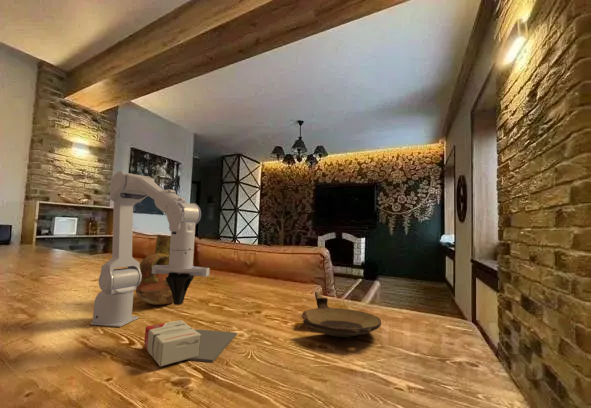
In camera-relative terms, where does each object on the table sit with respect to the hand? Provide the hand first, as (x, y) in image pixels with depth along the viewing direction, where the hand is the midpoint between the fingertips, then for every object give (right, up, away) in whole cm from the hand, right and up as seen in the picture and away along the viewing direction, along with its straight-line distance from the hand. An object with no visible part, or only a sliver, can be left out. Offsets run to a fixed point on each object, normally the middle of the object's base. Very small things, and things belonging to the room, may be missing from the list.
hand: (178, 303), depth 72 cm
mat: (+6, -10, -1) cm, 11 cm away
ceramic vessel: (-19, -12, +34) cm, 41 cm away
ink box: (-3, -6, -2) cm, 7 cm away
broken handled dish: (+42, -12, +12) cm, 46 cm away
